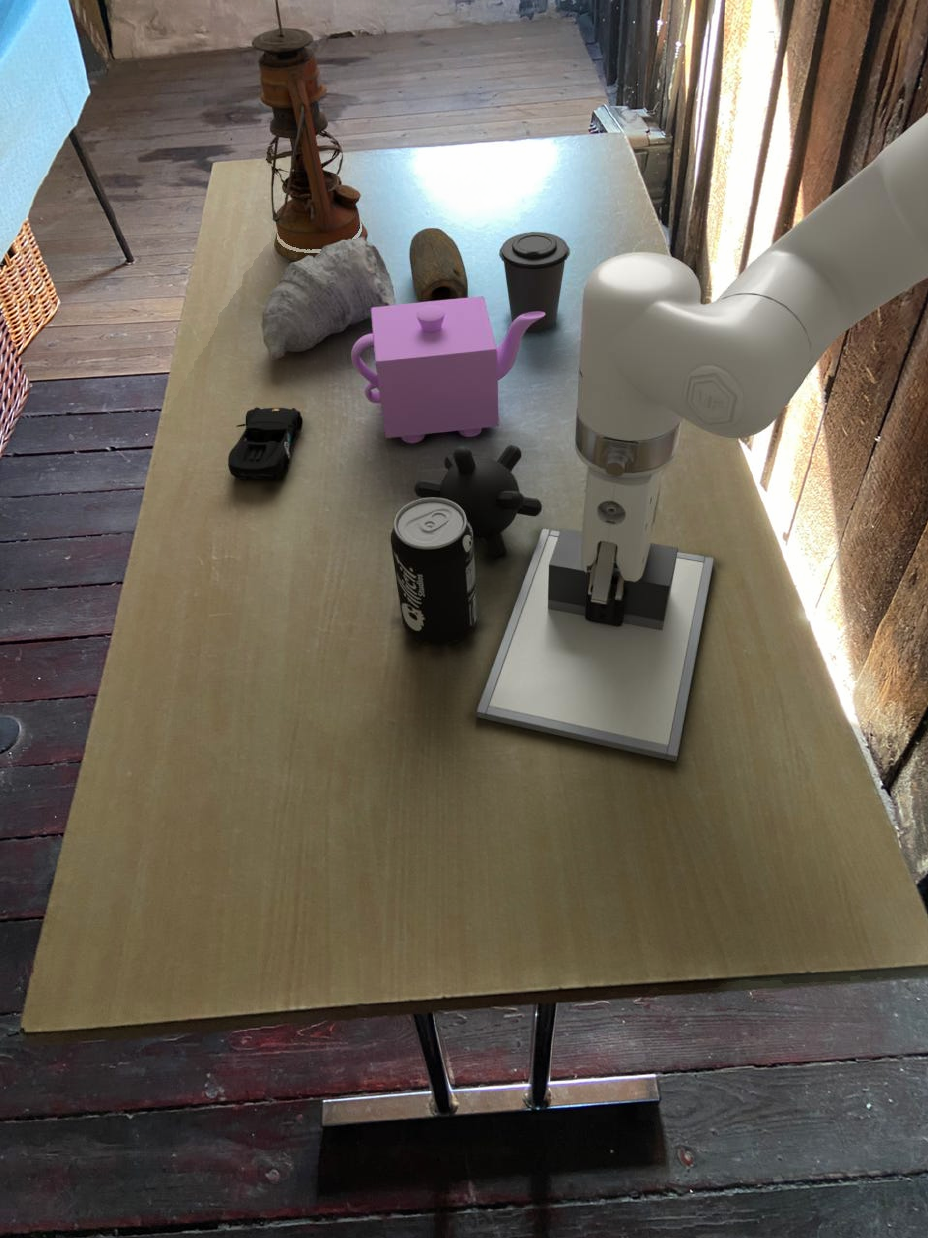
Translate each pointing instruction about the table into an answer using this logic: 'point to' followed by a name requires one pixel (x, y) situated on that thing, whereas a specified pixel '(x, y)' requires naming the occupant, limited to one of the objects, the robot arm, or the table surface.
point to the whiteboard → (598, 665)
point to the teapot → (438, 366)
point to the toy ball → (483, 493)
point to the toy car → (265, 443)
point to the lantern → (303, 147)
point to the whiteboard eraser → (642, 596)
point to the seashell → (325, 296)
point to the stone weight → (437, 267)
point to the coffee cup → (534, 275)
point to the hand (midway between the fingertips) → (610, 597)
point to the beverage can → (435, 570)
